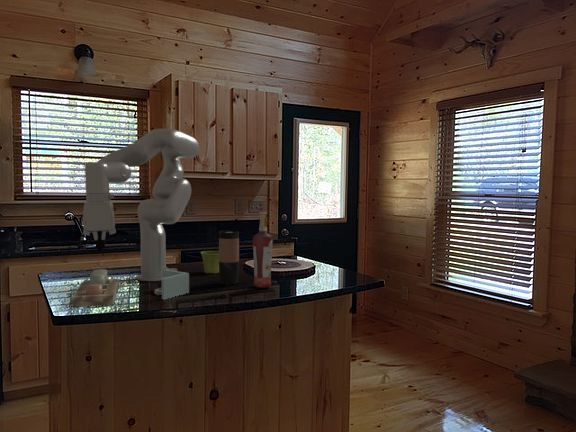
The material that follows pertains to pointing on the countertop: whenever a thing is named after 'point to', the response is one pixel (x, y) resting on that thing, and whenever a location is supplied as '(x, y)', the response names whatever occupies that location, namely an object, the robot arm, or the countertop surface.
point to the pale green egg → (98, 279)
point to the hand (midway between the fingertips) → (100, 250)
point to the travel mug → (228, 257)
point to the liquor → (262, 254)
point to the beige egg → (101, 271)
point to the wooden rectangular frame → (93, 300)
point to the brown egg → (94, 289)
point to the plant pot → (211, 261)
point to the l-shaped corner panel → (173, 284)
